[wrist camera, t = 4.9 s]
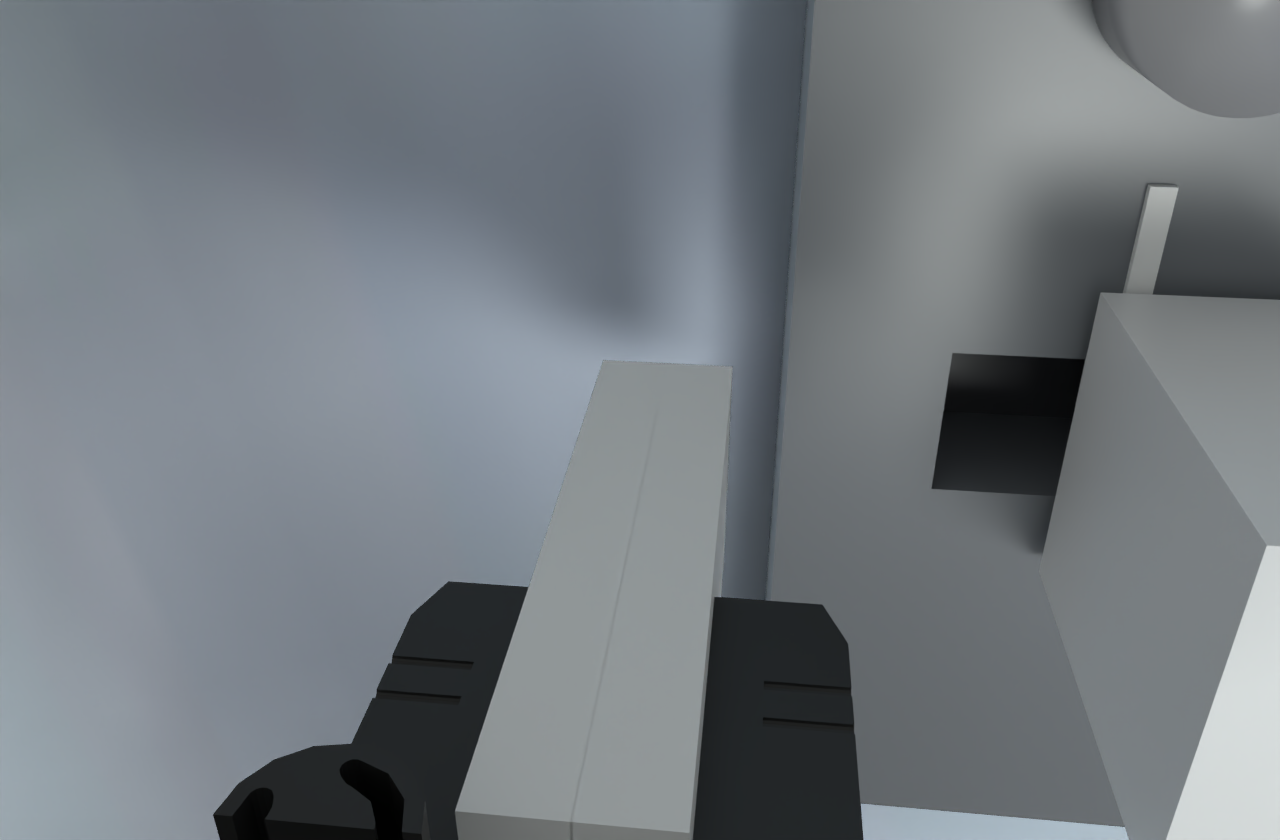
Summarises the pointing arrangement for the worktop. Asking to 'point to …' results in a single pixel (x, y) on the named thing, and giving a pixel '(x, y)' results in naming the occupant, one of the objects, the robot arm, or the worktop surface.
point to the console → (989, 342)
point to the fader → (1176, 561)
